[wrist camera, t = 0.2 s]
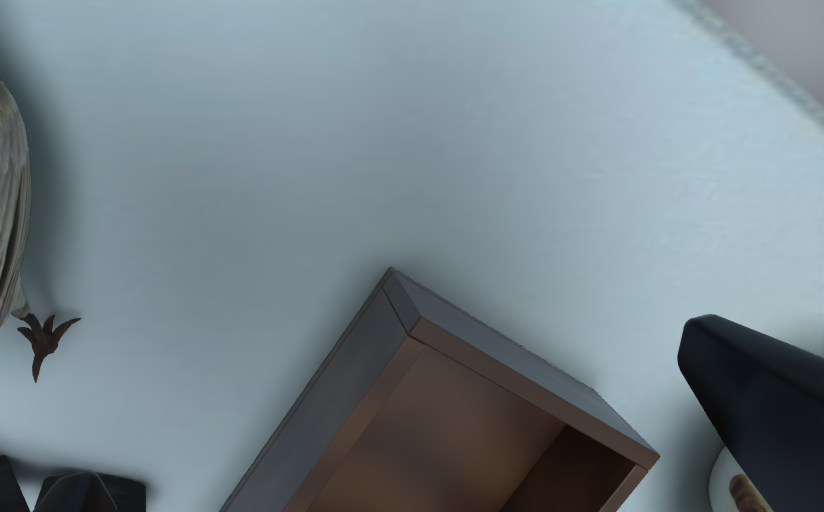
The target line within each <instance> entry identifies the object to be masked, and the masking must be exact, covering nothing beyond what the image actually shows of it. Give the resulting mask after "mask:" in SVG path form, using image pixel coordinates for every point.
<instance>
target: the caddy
mask: <svg viewBox="0 0 824 512" xmlns="http://www.w3.org/2000/svg"><path fill="white" fill-rule="evenodd" d="M659 458H660V455H659V454H658V453H657V452H656V451H655V450H654V449H653V448H652V447H651V446H650V445H649V444H648V443H647V442H646V441H645V440H644V439H643V438H642V437H641V436H640V435H639V434H638V433H637V432H636V431H635V430H634V429H633V428H632V427H631V426H630V425H629V424H628V423H627V422H626V421H625V420H624V419H623V418H622V417H621V416H620V415H619V414H618V413H617V412H616V411H615V410H614V409H613V408H612V407H611V406H610V405H609V404H608V403H607V402H606V401H605V400H604V399H603V398H602V397H601V396H600V395H599V394H598V393H597V392H596V391H594V390H592V389H591V388H589V387H587V386H586V385H584V384H582V383H581V382H579V381H578V380H576V379H574V378H573V377H571V376H569V375H568V374H566V373H564V372H563V371H561V370H559V369H558V368H556V367H555V366H553V365H551V364H550V363H548V362H546V361H545V360H543V359H541V358H540V357H538V356H536V355H535V354H533V353H532V352H530V351H528V350H527V349H525V348H523V347H522V346H520V345H518V344H517V343H515V342H513V341H512V340H510V339H509V338H507V337H505V336H504V335H502V334H500V333H499V332H497V331H495V330H494V329H492V328H490V327H489V326H487V325H486V324H484V323H482V322H481V321H479V320H477V319H476V318H474V317H472V316H471V315H469V314H467V313H466V312H464V311H463V310H461V309H459V308H458V307H456V306H454V305H453V304H451V303H449V302H448V301H446V300H444V299H443V298H441V297H440V296H438V295H436V294H435V293H433V292H431V291H430V290H428V289H426V288H425V287H423V286H421V285H420V284H418V283H416V282H415V281H413V280H412V279H410V278H408V277H407V276H405V275H403V274H402V273H400V272H398V271H397V270H395V269H393V268H392V267H390V268H389V269H388V271H387V272H386V273H385V275H384V276H383V278H382V279H381V281H380V282H379V283H378V285H377V286H376V288H375V289H374V291H373V292H372V293H371V295H370V296H369V298H368V299H367V301H366V302H365V304H364V305H363V306H362V308H361V309H360V311H359V312H358V314H357V315H356V316H355V318H354V319H353V321H352V322H351V324H350V325H349V327H348V328H347V329H346V331H345V332H344V334H343V335H342V337H341V338H340V339H339V341H338V342H337V344H336V345H335V347H334V348H333V350H332V351H331V352H330V354H329V355H328V357H327V358H326V360H325V361H324V362H323V364H322V365H321V367H320V368H319V370H318V371H317V372H316V374H315V375H314V377H313V378H312V380H311V381H310V383H309V384H308V385H307V387H306V388H305V390H304V391H303V393H302V394H301V395H300V397H299V398H298V400H297V401H296V403H295V404H294V406H293V407H292V408H291V410H290V411H289V413H288V414H287V416H286V417H285V418H284V420H283V421H282V423H281V424H280V426H279V427H278V428H277V430H276V431H275V433H274V434H273V436H272V437H271V439H270V440H269V441H268V443H267V444H266V446H265V447H264V449H263V450H262V451H261V453H260V454H259V456H258V457H257V459H256V460H255V462H254V463H253V464H252V466H251V467H250V469H249V470H248V472H247V473H246V474H245V476H244V477H243V479H242V480H241V482H240V483H239V484H238V486H237V487H236V489H235V490H234V492H233V493H232V495H231V496H230V497H229V499H228V500H227V502H226V503H225V505H224V506H223V507H222V509H221V510H220V512H616V511H617V510H618V509H619V508H620V506H621V505H622V504H623V503H624V501H625V500H626V499H627V498H628V496H629V495H630V494H631V493H632V491H633V490H634V489H635V488H636V487H637V485H638V484H639V483H640V482H641V480H642V479H643V478H644V477H645V475H646V474H647V473H648V470H650V469H651V468H652V466H653V465H654V464H655V463H656V461H657V460H658V459H659Z"/></svg>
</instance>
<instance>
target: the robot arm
mask: <svg viewBox="0 0 824 512" xmlns="http://www.w3.org/2000/svg"><path fill="white" fill-rule="evenodd" d="M677 359H678V365H679V368H680V371H681V373H682V374H683V376H684V378H685V379H686V381H687V383H688V384H689V386H690V388H691V389H692V391H693V393H694V394H695V396H696V398H697V399H698V401H699V403H700V404H701V406H702V408H703V409H704V411H705V413H706V414H707V416H708V418H709V419H710V421H711V423H712V424H713V426H714V428H715V429H716V431H717V433H718V434H719V436H720V438H721V439H722V441H723V442H724V444H725V445H726V447H727V449H728V450H729V452H730V453H731V455H732V456H733V457H734V459H735V460H736V462H737V463H738V464H739V466H740V467H741V469H742V470H743V471H744V473H745V474H746V475H747V477H748V478H749V479H750V481H751V482H752V483H753V485H754V486H755V487H756V489H757V490H758V491H759V493H760V494H761V495H762V497H763V498H764V499H765V501H766V502H767V503H768V505H769V506H770V508H771V509H772V510H773V512H824V358H823V357H820V356H818V355H815V354H813V353H810V352H808V351H805V350H803V349H800V348H798V347H795V346H793V345H790V344H788V343H785V342H783V341H780V340H777V339H775V338H772V337H770V336H767V335H765V334H762V333H760V332H757V331H755V330H752V329H750V328H747V327H745V326H742V325H740V324H737V323H735V322H732V321H730V320H727V319H725V318H722V317H720V316H717V315H713V314H707V315H703V316H699V317H695V318H691V319H689V320H688V321H687V322H686V323H685V325H684V329H683V333H682V338H681V342H680V347H679V351H678V356H677ZM33 512H118V511H117V508H116V505H115V503H114V501H113V500H112V498H111V496H110V494H109V493H108V491H107V489H106V488H105V486H104V484H103V482H102V481H101V479H100V477H99V476H98V474H97V473H96V472H94V471H92V470H90V471H89V470H87V471H84V472H80V473H76V474H72V475H68V476H64V477H62V478H60V479H59V480H58V481H57V482H56V483H55V484H54V485H53V486H52V488H51V489H50V490H49V491H48V493H47V494H46V495H45V496H44V498H43V499H42V500H41V502H40V503H39V504H38V505H37V507H36V508H35V509H34V510H33Z"/></svg>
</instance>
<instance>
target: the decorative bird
mask: <svg viewBox="0 0 824 512" xmlns="http://www.w3.org/2000/svg"><path fill="white" fill-rule="evenodd" d="M30 211H31V172H30V156H29V148H28V142H27V135H26V129H25V125H24V122H23V119H22V117H21V114H20V111H19V108H18V105H17V103H16V101H15V99H14V98H13V96H12V95H11V93H10V92H9V90H8V89H7V87H6V86H5V84H4V83H3V81H2V80H1V78H0V327H1V326H2V325H3V323H4V322H5V321H6V319H7V318H8V317H9V315H10V314H12V315H13V316H14V317H16V318H19V319H20V320H23V321H25V322H26V323H27V324H29V325H30V326H31V329H32V330H30V329H29V328H25V327H19V328H17V330H18V331H19V332H21V333H22V334H23V335H24V336H25V337H26V338H27V339H28V340H29V341H30V342H31V343H32V349H33V351H34V354H35V356H34V360H33V365H32V373H33V377H34V380H35V383H36V382H37V378H38V375H39V370H40V366H41V364H42V361H43V359H44V358H45V357H46V356H47V355H48V354H51V353H54V351H55V350H56V348H57V347H58V342H59V340H60V338H61V336H62V335H63V334H64V332H65V331H66V330H67V329H68V328H69V327H70V325H71V324H73V323H75V322H77V321H78V320H80V319H81V318H75V319H72V320H69V321H67V322H65V323H63V324H61V325H60V326H59V327H57V328H56V329H55V330H54V331H53V332H52V327H53V320H54V317H55V315H53V316H50V317H49V318H48V319H47V320H46V321H45V323H44V326H43V329H42V328H41V325H40V323H39V321H38V320H37V318H36V317H35V316H34V314H31V313H29V310H30V308H29V305H28V302H27V299H26V296H25V294H24V289H23V285H22V281H21V276H20V268H21V264H22V260H23V256H24V251H25V246H26V241H27V237H28V230H29V221H30Z"/></svg>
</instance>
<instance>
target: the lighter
mask: <svg viewBox="0 0 824 512" xmlns="http://www.w3.org/2000/svg"><path fill="white" fill-rule="evenodd" d="M71 475H72V474H71ZM64 476H68V475H61V476H51V477H47V478H45V480H44V482H43V485H42V488H41V490H40V493H39V496H38V499H37V502H36V504H35V508H36V507H37V505H38V504H39V503H40V502H41V500H42V499H43V498H44V496H45V495H46V494H47V493H48V491H49V490H50V489H51V488H52V486H53V485H54V484H55V483H56V482H57V481H58V480H59V479H60V478H62V477H64ZM98 476H99V477H100V479H101V481H102V482H103V484H104V486H105V488H106V489H107V491H108V493H109V494H110V496H111V498H112V500H113V501H114V503H115V505H116V508H117V511H118V512H146V487H145V485H143V484H140V483H136V482H133V481H129V480H126V479H122V478H115V477H108V476H100V475H98ZM0 512H30V510H29V507H28V505H27V503H26V501H25V498H24V496H23V494H22V491H21V489H20V487H19V484H18V482H17V480H16V478H15V475H14V473H13V471H12V468H11V466H10V464H9V461H8V459H7V457H6V456H0Z"/></svg>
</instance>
